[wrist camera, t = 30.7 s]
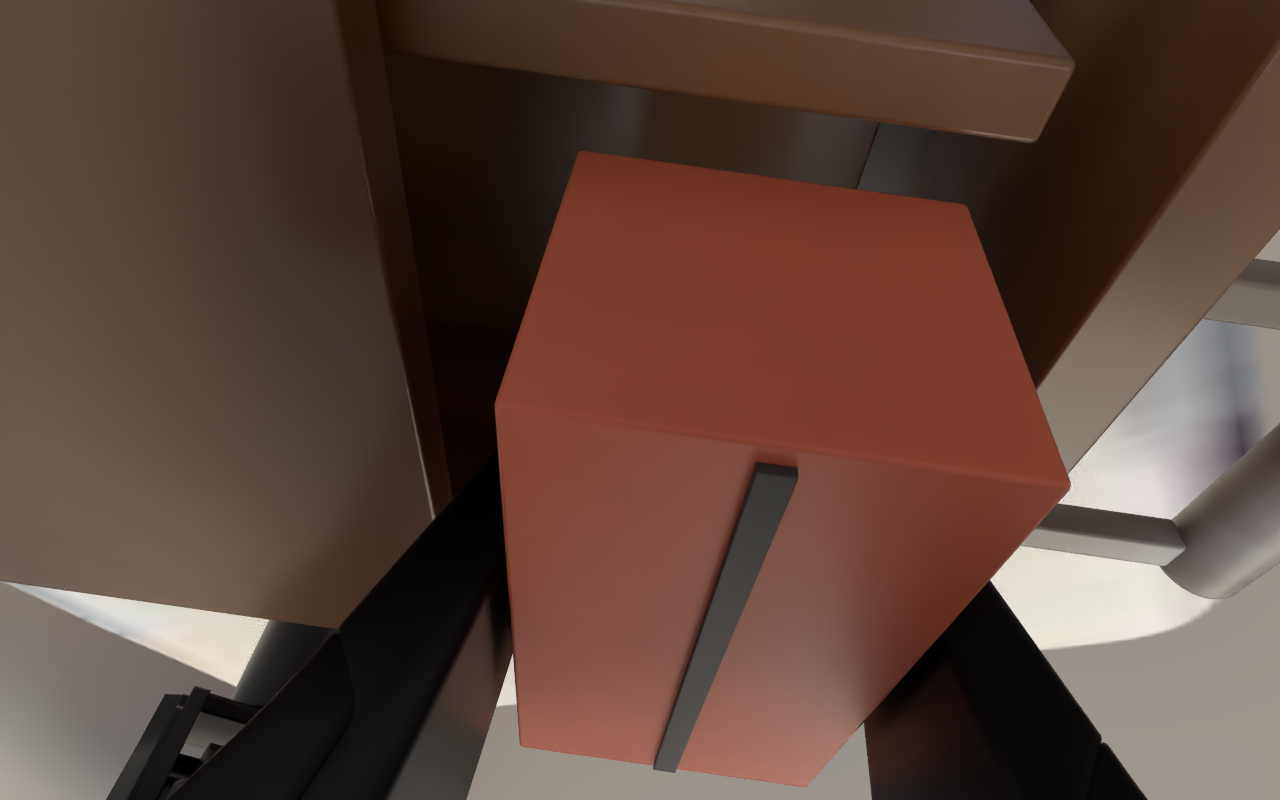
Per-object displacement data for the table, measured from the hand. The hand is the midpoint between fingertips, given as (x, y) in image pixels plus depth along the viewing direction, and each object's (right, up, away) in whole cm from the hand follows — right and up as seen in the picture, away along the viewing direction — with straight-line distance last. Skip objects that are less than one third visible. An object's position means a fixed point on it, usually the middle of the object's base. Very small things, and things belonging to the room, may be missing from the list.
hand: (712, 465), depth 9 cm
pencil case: (0, +1, +1) cm, 1 cm away
